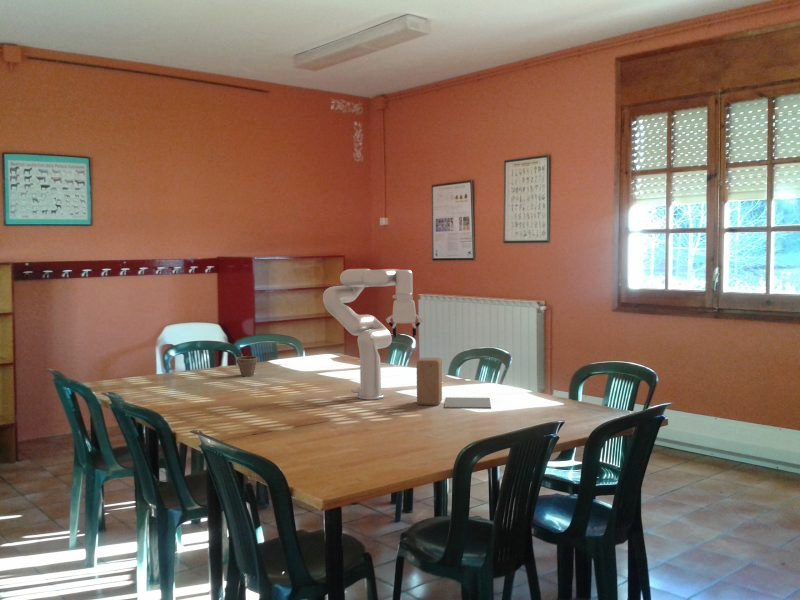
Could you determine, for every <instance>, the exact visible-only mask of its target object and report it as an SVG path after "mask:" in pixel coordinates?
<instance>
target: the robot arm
mask: <svg viewBox="0 0 800 600" xmlns="http://www.w3.org/2000/svg"><path fill="white" fill-rule="evenodd" d="M413 277H414V275H413V271H412V270H411V269H399V268H387V269H386V268H385V269H370V268H349V269H346V270H344V271H342V272H341V274H340V275H339V280H340V283H341V285H334V286H330V287H327V288H326V289H325V290H324V292H323V295H322V301H323V305H324V307H325V310H327V312H328V313H329V314H330V315H331V316H333V318H335V320H337V321H338V322H339V324H341V325H342V326H343V327H344V328H345V330H346V331H348V333H349V334H350V335H352V336H355V337H356V336H357V347H358V351H359V368H360V369H359V371H360V373H359V374H360V375H359V376H360V386H359V387H358V388H355V387H353V388H352V387H351V389H350V392H351V393H353V394H357V395H356V397H357V399H360V400H379V399H383V398H385V394H384V393H382V381H381V380H382V377H381V375H382V374H381V373H382V371H381V355H380V353H379V351H378V350H379V349H385V348H387V347H389V346H390V345H391V344H392V342H393V338H397V335H398V334H397V325H398V324H411V325H412V338H415V337H416V335H417V328H418V327H419V326H420V325H421V323H422V322H423V320H424V319H423V318H422V317H421V316H420V315H418V314H417V311H416V304H415V300H413V298H414V294H413V292H414V290H413V287H414V286H413V285H414V283H413ZM394 286H395V294H392V299H395V300H394V301H393V303H392V304H393V305H392V314H391V315H389V316H388V317H387V318H385V321H386V322H387V323H388V324H389V326H390V327H391V328H392V334H391V332H390V331H389V329H388V328H387V327H386V326H385V325H384V324H383V323H382V322H381V321H379V320H378V318H376V317H375V316H374V315H371V314H366V313H365V314H358V313H356V312H355V311H354V310H353V309H352V308H351V307H350V306H349V305H346V304H347V303H352V302H354V301H356V299H357V298H358V297H359V295H360V294H361V293H362V292H363V291H364V289H365V288H369V287H394ZM391 320H392V321H391ZM417 320H418V321H417ZM416 321H417V322H416ZM392 336H393V338H392Z"/></svg>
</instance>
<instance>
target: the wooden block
mask: <svg viewBox="0 0 800 600" xmlns="http://www.w3.org/2000/svg"><path fill="white" fill-rule="evenodd" d="M442 360H443V359H442V358H441V357H423V356H422V357H419V358H418V359H417V361H416V403H417V405H418V406H419V405H420V406H424V405H425V406H439V405H440V404H441V402H442V400H443V371H442V370H443V368H442V365H443V364H442V363H443V361H442Z"/></svg>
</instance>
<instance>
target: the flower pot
mask: <svg viewBox="0 0 800 600" xmlns="http://www.w3.org/2000/svg"><path fill="white" fill-rule="evenodd" d="M258 360H259V359H258V356H255V355H245V356H239V357H236V363H237V364H238V368H239V373H240V375H241V377H243V378H244V377H248V378H249V377H253V376H254V375H255V371H256V366H257V363H258Z"/></svg>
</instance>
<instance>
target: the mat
mask: <svg viewBox="0 0 800 600" xmlns="http://www.w3.org/2000/svg"><path fill="white" fill-rule="evenodd" d="M444 400H445V401H444V409H492V405H491V398H490V397H451V396H450V397H445V399H444Z"/></svg>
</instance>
